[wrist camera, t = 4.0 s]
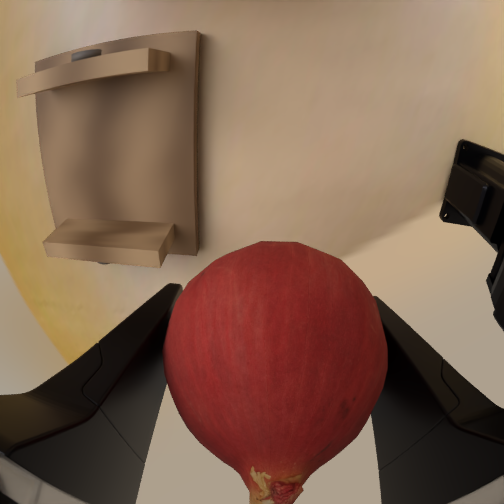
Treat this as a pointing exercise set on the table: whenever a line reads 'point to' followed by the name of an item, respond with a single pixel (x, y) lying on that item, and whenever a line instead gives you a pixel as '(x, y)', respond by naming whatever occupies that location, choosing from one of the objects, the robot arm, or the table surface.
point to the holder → (120, 148)
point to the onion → (275, 362)
